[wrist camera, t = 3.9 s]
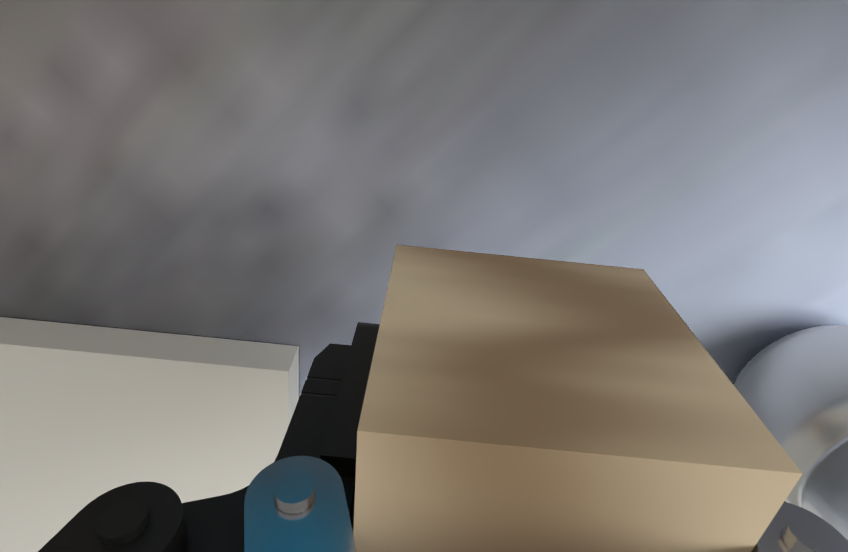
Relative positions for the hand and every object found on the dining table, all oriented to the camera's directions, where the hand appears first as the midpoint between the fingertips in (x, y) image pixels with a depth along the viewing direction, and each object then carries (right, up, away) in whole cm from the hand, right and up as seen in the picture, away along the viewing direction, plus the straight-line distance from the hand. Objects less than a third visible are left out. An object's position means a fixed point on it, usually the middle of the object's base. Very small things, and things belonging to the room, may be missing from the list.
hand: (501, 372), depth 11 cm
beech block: (0, 0, 0) cm, 1 cm away
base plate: (-14, -6, +11) cm, 19 cm away
